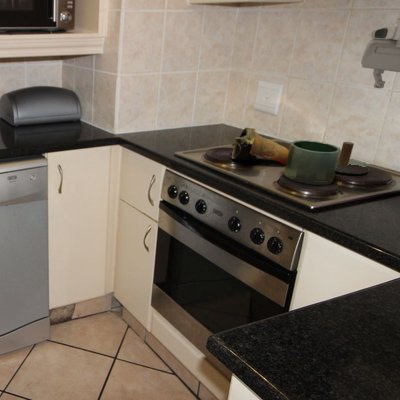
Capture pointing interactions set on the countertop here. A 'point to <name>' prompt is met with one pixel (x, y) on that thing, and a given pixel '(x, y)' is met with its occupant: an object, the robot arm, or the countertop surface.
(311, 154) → the tin
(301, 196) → the countertop surface
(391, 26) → the robot arm
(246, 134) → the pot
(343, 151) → the tin lid
